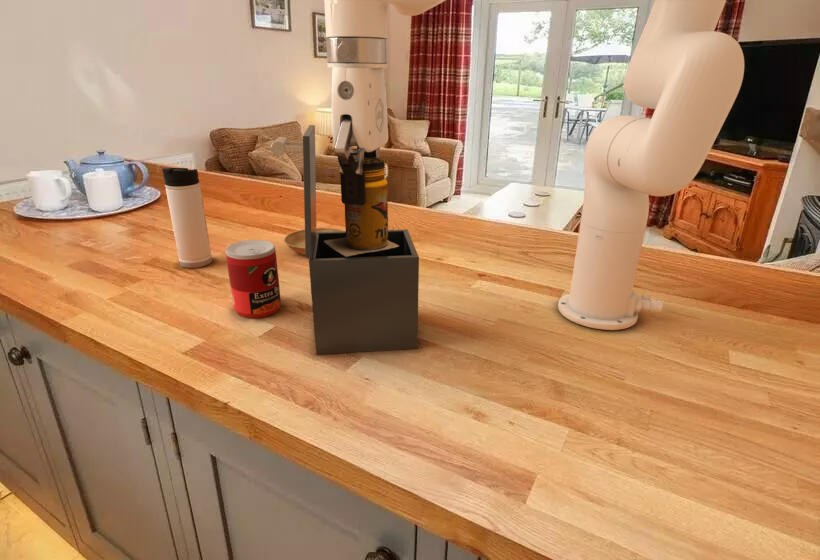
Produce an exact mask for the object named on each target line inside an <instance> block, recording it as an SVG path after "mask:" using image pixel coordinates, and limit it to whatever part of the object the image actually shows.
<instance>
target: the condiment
mask: <svg viewBox="0 0 820 560" xmlns="http://www.w3.org/2000/svg"><path fill="white" fill-rule="evenodd" d="M354 158H355V161H356V160H357V157H354ZM385 166H386V163H385V160H383V159H381V158H380V159H378V158H363V169H362V174H365V194H366V202H365V204H364V205H354V204H344V223H345V224H344V225H345V231H346V237H344V238H339V239H334V240H326V241H324V242H325V243H326V244H328V245H329V246H330V247H331V248H333V249H334V250H336V251H338V252H339V253H340V254H342V255H344V256H345V257H347V256H351V255H357V254H362V253H366V252H367V253H368V252H375V251H380V250H385V249H390V248H395V247H398V246H399V245H397V244H394V243H392V242H390V241H388V230H389V223H388V222H389V207H388V205H389V203H388V201H389V199H388V197H389V194H388V193H389V188H388V187H389V185H388V184H389V183H388V180H387V179H386V177H385V176H386V172H385Z"/></svg>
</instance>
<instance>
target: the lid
mask: <svg viewBox="0 0 820 560" xmlns="http://www.w3.org/2000/svg"><path fill="white" fill-rule="evenodd" d="M270 153H272V155H273V156H276V157H280V156H283V155H285V153H302V164H303V166H302V167H303V168H302V169H303V171H302V172H303V211H304V213H303V214H304V229H305V255H304V256H305V258H311V257H312V252H313V246H314V240H315V234H316V228H317V179H316V178H317V177H316V175H317V174H316V173H317V172H316V169H317V168H316V164H317V163H316V125H315V124H309V125H308V127H307V128H306V130H305V131H304V134H303V135H302V141H293V140H292V141H291V140H288V138H287V137H285V136H278V137H277V138H276V139H275V140H274V141H273V142H272V143H271V144H270Z"/></svg>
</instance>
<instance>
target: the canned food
mask: <svg viewBox="0 0 820 560" xmlns="http://www.w3.org/2000/svg"><path fill="white" fill-rule="evenodd" d="M225 257H226V265H227V273H228V278H229V286H230V290H231V291H230V292H231V298H232V304H233V309H234V311H235V313H236V314H237V315H238V316H241V317H242V318H248V319H260V318H265V317H269V316H271V315H274V314H276V313H277V312H278V311H279V310H280V308H281V304H282V303H281V302H282V300H281V289H280V281H279V280H280V279H279V269H278V260H277V250H276V245H275V244H274V243H273V242H271V241H268V240H263V239H247V240H240V241H236V242H234V243H230V244H229V245H228V246H226V248H225Z"/></svg>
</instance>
